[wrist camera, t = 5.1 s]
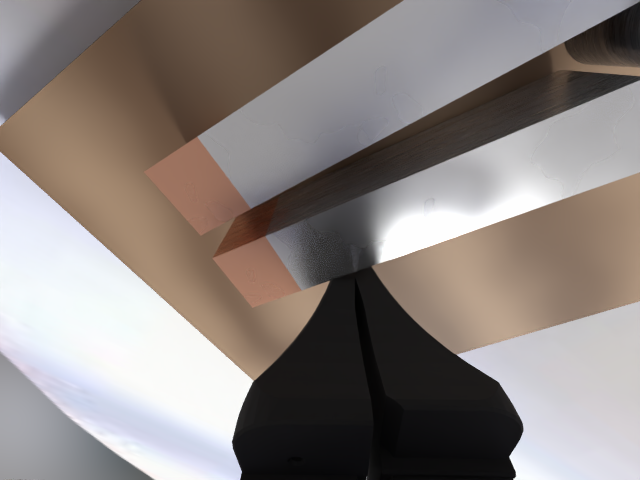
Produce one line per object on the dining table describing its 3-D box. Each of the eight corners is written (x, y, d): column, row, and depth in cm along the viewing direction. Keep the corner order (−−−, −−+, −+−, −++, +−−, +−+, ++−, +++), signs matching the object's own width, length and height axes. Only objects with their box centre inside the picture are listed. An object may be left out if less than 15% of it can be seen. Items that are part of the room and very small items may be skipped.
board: (728, -485, 6) (816, -605, 5) (676, 266, 15) (702, 282, 14) (14, 131, 12) (-14, 138, 11) (283, 388, 21) (281, 405, 20)
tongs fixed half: (672, -176, 7) (977, -380, 4) (665, 33, 9) (857, 23, 6) (187, 144, 11) (127, 182, 8) (258, 236, 13) (234, 296, 10)
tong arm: (560, 69, 9) (648, 76, 7) (564, 142, 10) (640, 172, 8) (237, 215, 12) (212, 258, 10) (267, 258, 13) (252, 307, 11)
